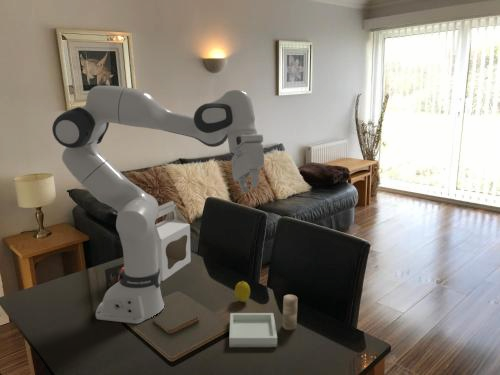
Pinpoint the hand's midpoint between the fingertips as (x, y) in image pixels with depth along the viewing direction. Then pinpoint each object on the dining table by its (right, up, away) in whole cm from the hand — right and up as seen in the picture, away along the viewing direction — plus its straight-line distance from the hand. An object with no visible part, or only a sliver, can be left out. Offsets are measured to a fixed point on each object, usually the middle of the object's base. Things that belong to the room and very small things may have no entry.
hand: (249, 189), depth 119 cm
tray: (+1, -45, +7) cm, 45 cm away
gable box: (-36, -34, +54) cm, 74 cm away
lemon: (-3, -41, +27) cm, 49 cm away
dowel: (+13, -44, +12) cm, 47 cm away
